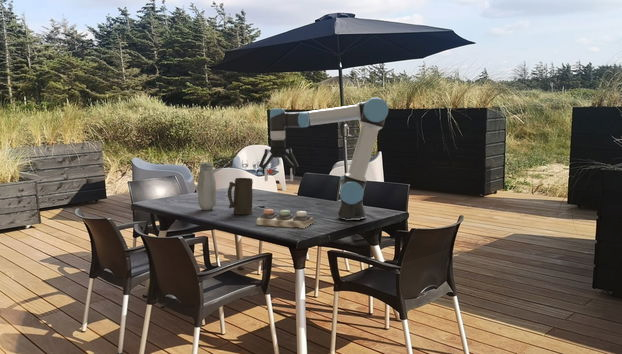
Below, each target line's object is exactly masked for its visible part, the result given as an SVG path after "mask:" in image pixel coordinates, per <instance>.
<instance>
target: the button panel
mask: <svg viewBox="0 0 622 354" xmlns="http://www.w3.org/2000/svg"><path fill="white" fill-rule="evenodd" d="M312 223H313V224H314V217H311V215H307V216H305V217H298V216H297V214H296V215H295V214H291V213H290V215H288V216H281V215H280V214H278V213H277V212H276V213H275V212H274V214H272V215H265V214H264V213H262V214H260V215H259V217H258V218H256V226H267V227H268V226H269V227H281V228H293V227H299V228H298V229H306V228H308V227H309V225H310V224H311V225H313V224H312ZM311 225H310V226H311ZM307 226H308V227H307ZM305 227H306V228H305Z"/></svg>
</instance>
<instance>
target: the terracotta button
mask: <svg viewBox="0 0 622 354" xmlns="http://www.w3.org/2000/svg"><path fill="white" fill-rule="evenodd" d="M274 213H275V212H274V209H272V208H265V209H263V214H265V215H272V214H274Z"/></svg>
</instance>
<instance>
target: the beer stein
mask: <svg viewBox="0 0 622 354" xmlns="http://www.w3.org/2000/svg"><path fill="white" fill-rule="evenodd" d="M253 183H254V180H253V178H250V177H237V178H236V177H235V179H234V182H233V181H230V182H229V185H228V189H227V199H228V201H229V205H228V209H233V214H236V215H252V214H253ZM233 188H234V190H233ZM232 190H233V193H232ZM232 194H233V196H232Z"/></svg>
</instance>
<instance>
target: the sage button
mask: <svg viewBox="0 0 622 354" xmlns="http://www.w3.org/2000/svg"><path fill="white" fill-rule="evenodd" d="M290 214H291V210H290V209H281V210H280V211H279V215H281V216H288V215H290Z"/></svg>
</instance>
